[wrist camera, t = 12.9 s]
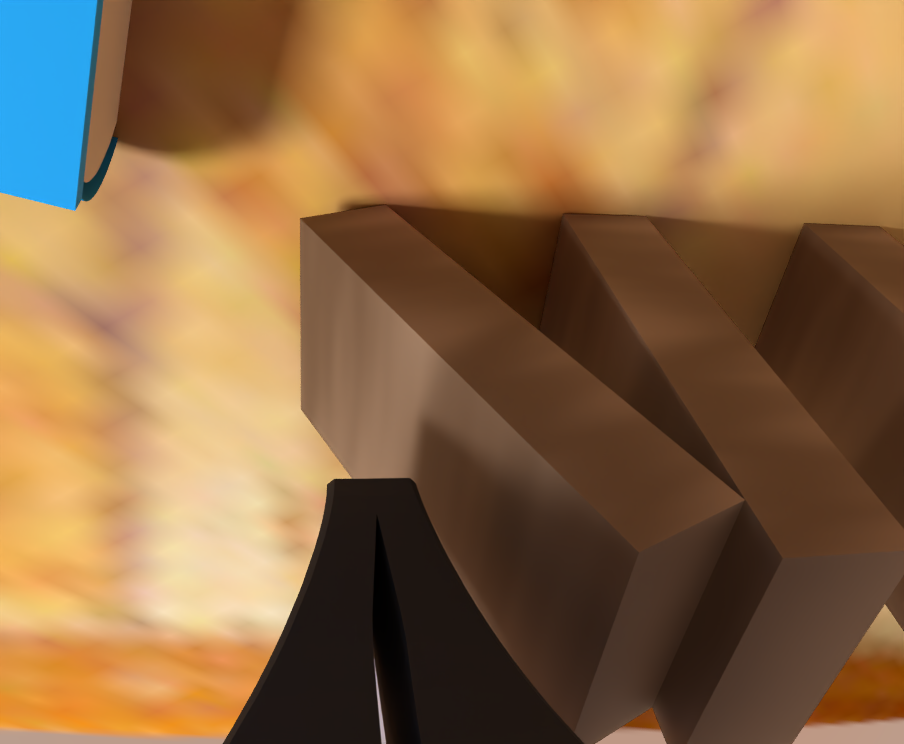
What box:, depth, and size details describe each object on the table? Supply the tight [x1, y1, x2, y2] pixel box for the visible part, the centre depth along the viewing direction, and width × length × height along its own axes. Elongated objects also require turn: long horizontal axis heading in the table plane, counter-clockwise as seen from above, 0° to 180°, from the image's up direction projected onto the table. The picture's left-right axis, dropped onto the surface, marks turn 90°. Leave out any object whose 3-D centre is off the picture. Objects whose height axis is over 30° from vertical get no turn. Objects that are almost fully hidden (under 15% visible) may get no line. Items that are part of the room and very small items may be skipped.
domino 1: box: [300, 205, 745, 744], centre depth 15 cm, size 2×5×10 cm, turn 174°
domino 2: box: [539, 214, 904, 744], centre depth 16 cm, size 2×5×10 cm, turn 174°
